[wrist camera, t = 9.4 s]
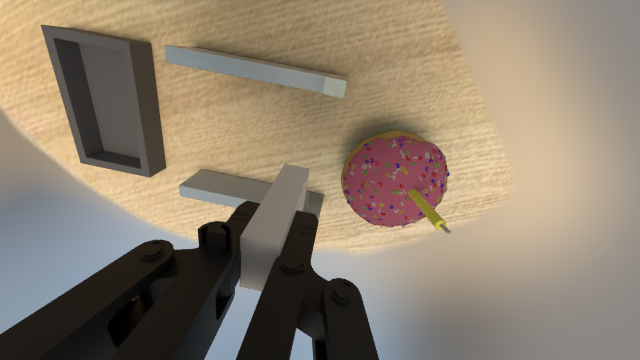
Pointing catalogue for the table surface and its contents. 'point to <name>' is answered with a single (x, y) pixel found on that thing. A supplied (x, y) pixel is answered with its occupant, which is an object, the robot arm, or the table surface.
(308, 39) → the table surface
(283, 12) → the table surface
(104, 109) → the bin
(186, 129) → the table surface
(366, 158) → the cupcake
